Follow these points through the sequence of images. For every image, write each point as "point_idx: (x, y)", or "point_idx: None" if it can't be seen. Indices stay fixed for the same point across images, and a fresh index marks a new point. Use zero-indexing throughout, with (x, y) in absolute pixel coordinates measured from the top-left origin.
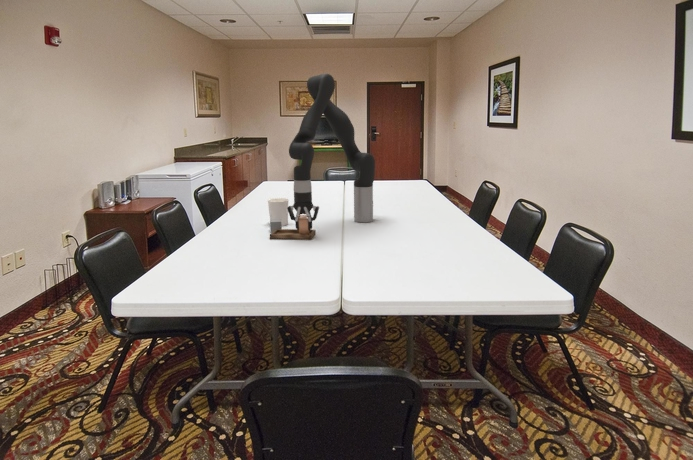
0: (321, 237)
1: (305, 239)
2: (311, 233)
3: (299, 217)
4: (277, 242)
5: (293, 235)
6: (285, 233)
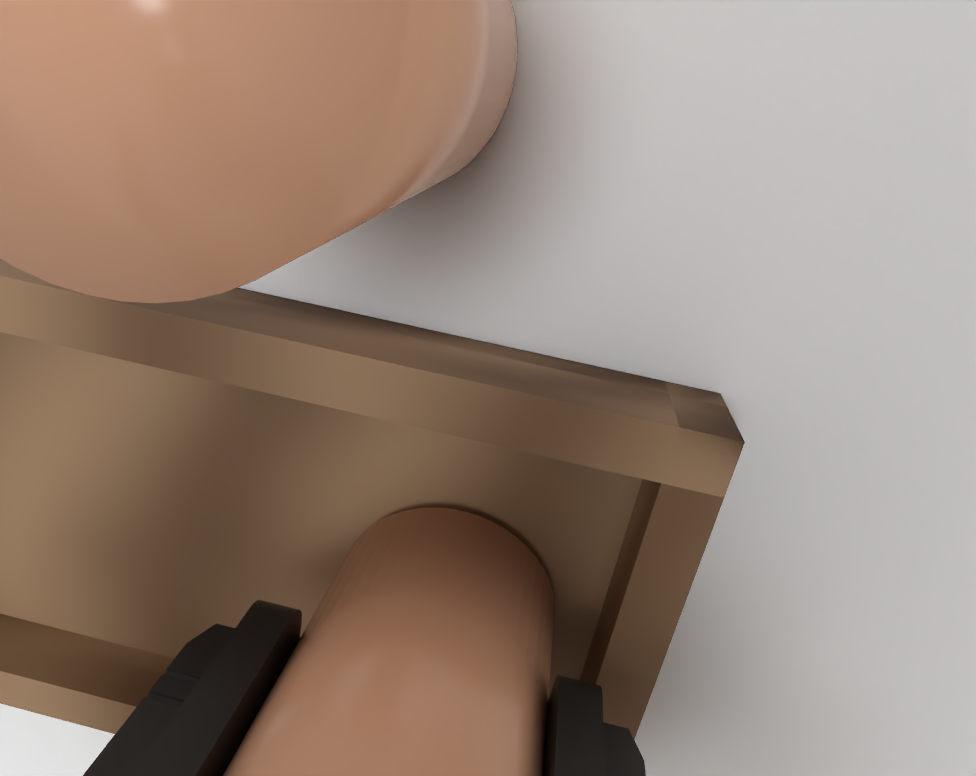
0: (806, 671)
1: None
2: None
3: (11, 260)
4: (73, 768)
5: None
6: (28, 366)
